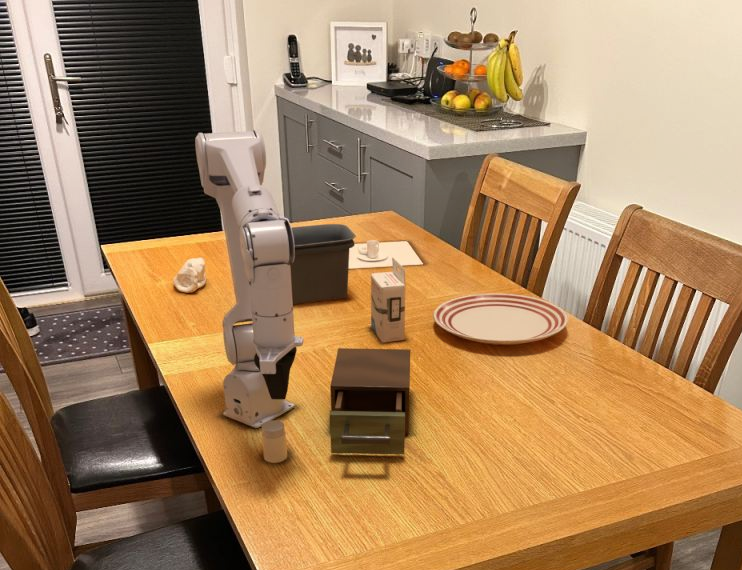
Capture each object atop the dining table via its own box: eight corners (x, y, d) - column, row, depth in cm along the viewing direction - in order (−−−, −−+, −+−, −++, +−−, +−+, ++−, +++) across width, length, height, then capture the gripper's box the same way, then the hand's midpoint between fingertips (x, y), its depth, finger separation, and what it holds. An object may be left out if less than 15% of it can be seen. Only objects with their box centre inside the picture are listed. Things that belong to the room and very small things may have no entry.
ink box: (369, 327, 166) (369, 258, 158) (392, 325, 167) (393, 255, 159) (381, 343, 159) (382, 271, 151) (405, 340, 160) (406, 269, 152)
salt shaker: (276, 465, 120) (273, 433, 117) (258, 458, 122) (255, 426, 119) (292, 455, 123) (289, 424, 120) (274, 448, 125) (272, 417, 122)
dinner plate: (405, 325, 167) (406, 310, 165) (495, 295, 182) (497, 281, 180) (502, 368, 149) (504, 352, 147) (593, 332, 164) (596, 316, 162)
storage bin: (265, 312, 173) (260, 247, 165) (254, 289, 185) (248, 227, 178) (360, 302, 178) (359, 238, 170) (343, 280, 191) (341, 219, 183)
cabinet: (408, 433, 128) (409, 387, 124) (332, 432, 129) (330, 385, 124) (409, 393, 141) (410, 349, 136) (339, 391, 141) (338, 348, 137)
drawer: (403, 471, 117) (404, 431, 114) (328, 469, 118) (326, 430, 114) (405, 412, 133) (406, 376, 129) (338, 411, 133) (337, 375, 130)
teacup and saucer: (354, 252, 208) (354, 237, 206) (384, 251, 210) (384, 235, 207) (359, 263, 201) (359, 247, 199) (390, 261, 202) (390, 245, 200)
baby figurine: (193, 275, 194) (210, 248, 190) (207, 308, 188) (225, 281, 183) (161, 266, 188) (177, 238, 183) (175, 300, 182) (192, 271, 177)
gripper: (295, 330, 103) (300, 421, 111) (306, 291, 116) (311, 375, 123) (240, 329, 103) (250, 421, 111) (258, 290, 116) (265, 375, 123)
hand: (278, 397), depth 117 cm, fingers closed
